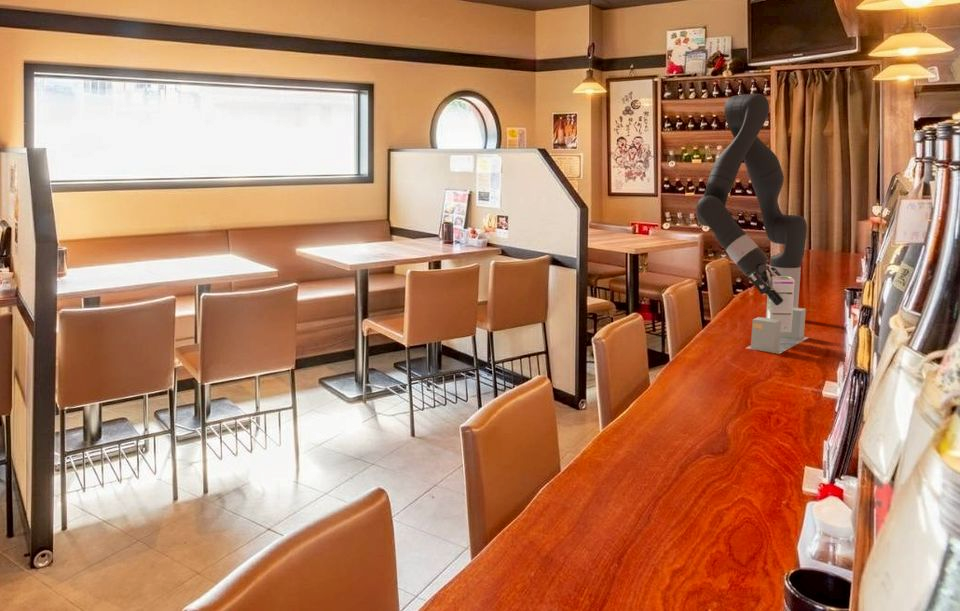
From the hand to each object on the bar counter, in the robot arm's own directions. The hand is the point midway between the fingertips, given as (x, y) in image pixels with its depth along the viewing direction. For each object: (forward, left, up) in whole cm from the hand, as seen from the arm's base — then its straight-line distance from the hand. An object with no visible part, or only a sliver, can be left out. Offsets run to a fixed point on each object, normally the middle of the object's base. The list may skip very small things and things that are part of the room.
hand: (785, 301), depth 202 cm
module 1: (+10, -1, -12) cm, 15 cm away
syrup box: (0, -1, -8) cm, 8 cm away
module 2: (-9, -1, -12) cm, 15 cm away
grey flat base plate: (0, -1, -13) cm, 13 cm away
